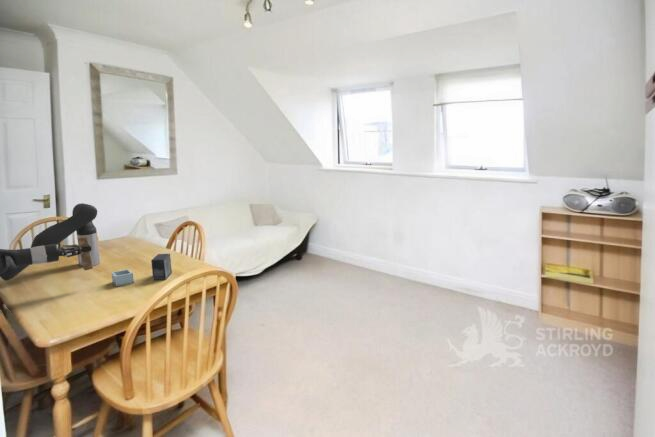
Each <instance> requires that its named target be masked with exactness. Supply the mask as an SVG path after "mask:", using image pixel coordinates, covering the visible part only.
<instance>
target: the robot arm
mask: <svg viewBox="0 0 655 437" xmlns="http://www.w3.org/2000/svg"><path fill="white" fill-rule="evenodd" d="M71 212H72V214H71V216H70V217H69V218H67V219H64V220H62V221H60V222H57V223H55V224H53V225H50V226H48V227H46V228H45V229H44V230H42V231H41V232H38V234H36V235H35V236H34V238H33V240H32V242H31V245H30V247H27V248H20V249H4V248H0V278H1V280H3V281H6V282H7V281H10V280H11V279H14V278H15V277H16V276H18V275H19V274H20V273H21V272H23V271H24V270H25V269H26V268H27V267H29V266H30V265H41V264H47V263H53V262H58V261H59V260H60V257H66V258H71V257H74V256H77V260H78V261H77V262H78V265H79V266H81V267H83V264H82V259H81V253H82V252H88V251H89V252H90V257H91V262H92V267H93V266H97V265H100V263H101V258H100V250H99V241H98V232H97V228H96V226H95V224H94V223H93V221H94V220H95V219H96V218H97V216H98V210H97V208H96V207H95V206H94V205H92V204H89V203H77V204H75V206H73V208H72V211H71ZM75 232H76V239H77V237H81V236H86V237H87V241H88V246H87V247H79V244H78V243H77V244H66V245H64V244H63V245H61V247H58V245H59V244H61V242H63V241H64V240H65V239H66V238H68V237H70V236H71V235H72V234H73V233H75ZM77 241H78V239H77Z"/></svg>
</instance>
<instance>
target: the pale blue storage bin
mask: <svg viewBox="0 0 655 437" xmlns="http://www.w3.org/2000/svg"><path fill="white" fill-rule="evenodd" d="M111 281H112V282H111V283H112V284H113V285H114V286H115V287H116V288H117V287H123V286H126V285H131V284H134V283H135V281H134V273H133V272H132V271H131V270H130V269H129V268H128V269H122V270H116V271H112V272H111Z"/></svg>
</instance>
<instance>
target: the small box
mask: <svg viewBox="0 0 655 437" xmlns="http://www.w3.org/2000/svg"><path fill="white" fill-rule="evenodd" d="M150 263H151V271H152V281H166V280H168V278H169V277H170V276H171V275H172V273H173V270H172V259H171V253H158V254H156V256H154V257H153V258H152V259H151V262H150Z"/></svg>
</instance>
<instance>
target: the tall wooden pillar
mask: <svg viewBox="0 0 655 437" xmlns="http://www.w3.org/2000/svg"><path fill="white" fill-rule="evenodd" d="M76 239H78V240H77V245H78V244H79V247H87V246H88V241H87V237H86V236H81V237H77V236H76ZM81 259H82V264H83V266H82V269H83V270H84V271H89V270H93V269H94V268H93V266H92V262H91V257H90V252H89V251H88V252H82V253H81Z"/></svg>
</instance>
